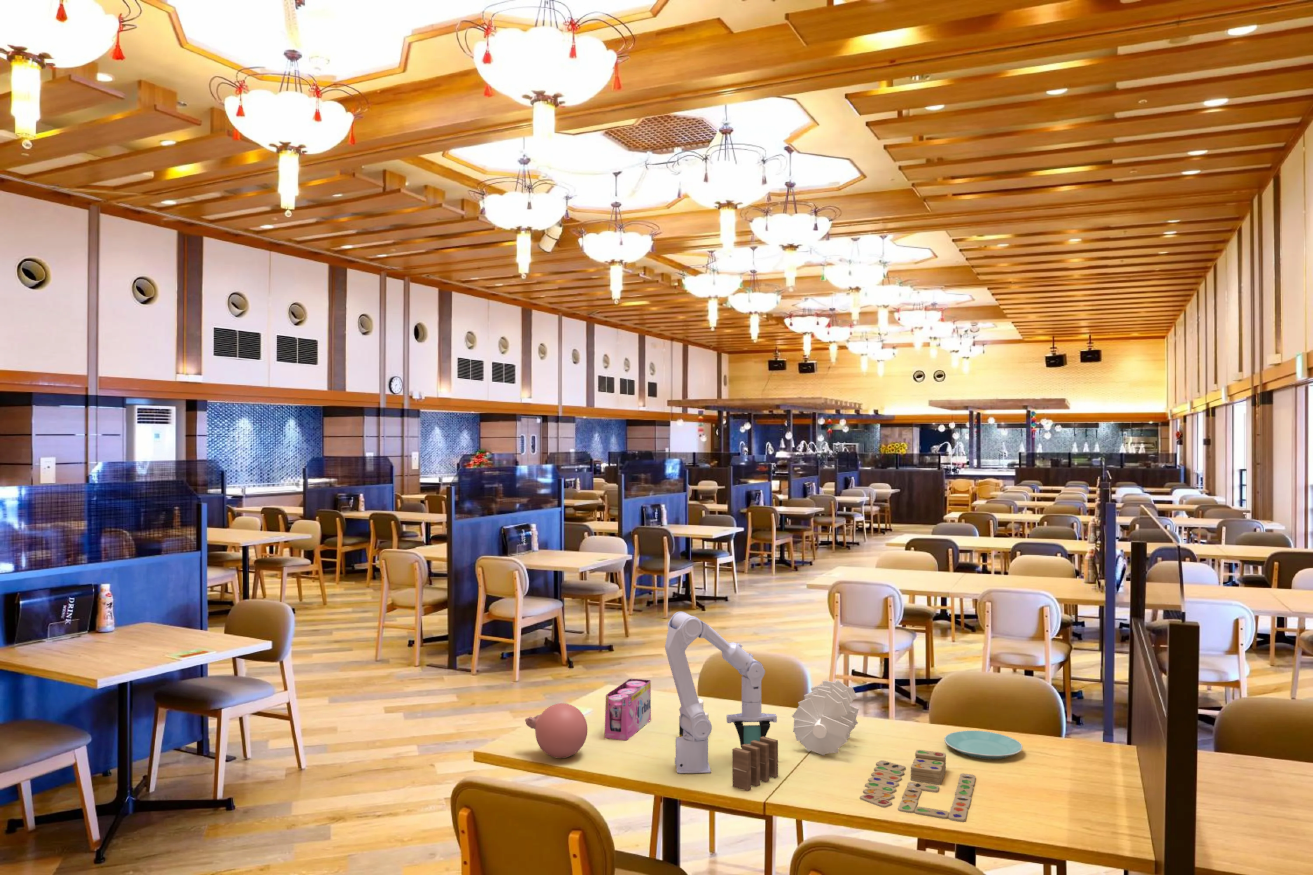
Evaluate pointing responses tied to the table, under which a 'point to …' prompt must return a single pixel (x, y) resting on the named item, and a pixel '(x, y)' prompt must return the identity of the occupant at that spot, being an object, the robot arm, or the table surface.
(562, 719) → the pink water balloon
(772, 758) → the walnut domino
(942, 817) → the pile of dominoes
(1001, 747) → the plate
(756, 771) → the walnut domino
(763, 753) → the walnut domino
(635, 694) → the gum box
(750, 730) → the teal domino
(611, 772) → the table surface
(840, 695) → the spiral staircase
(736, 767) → the walnut domino
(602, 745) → the table surface
